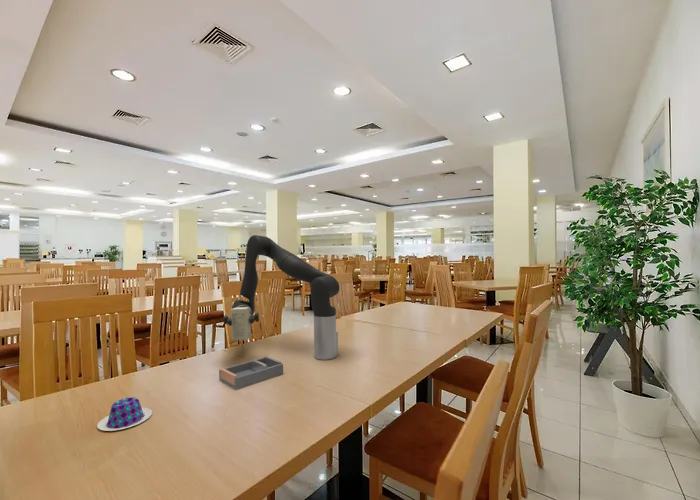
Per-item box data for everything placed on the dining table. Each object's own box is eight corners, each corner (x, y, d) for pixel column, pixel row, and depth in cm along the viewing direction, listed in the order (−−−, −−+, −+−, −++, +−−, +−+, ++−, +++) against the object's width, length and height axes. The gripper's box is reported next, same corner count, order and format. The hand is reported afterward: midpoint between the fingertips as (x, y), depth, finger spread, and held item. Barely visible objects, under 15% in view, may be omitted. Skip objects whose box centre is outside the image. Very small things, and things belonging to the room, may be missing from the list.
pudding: (134, 407, 95) (134, 388, 95) (162, 415, 90) (161, 396, 90) (87, 427, 84) (86, 407, 84) (114, 438, 79) (114, 416, 79)
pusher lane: (265, 366, 127) (264, 355, 127) (283, 373, 118) (283, 362, 118) (219, 379, 114) (219, 368, 114) (236, 389, 105) (235, 377, 105)
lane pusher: (253, 367, 122) (253, 358, 122) (266, 373, 115) (266, 364, 115) (250, 368, 121) (250, 359, 121) (263, 374, 114) (263, 365, 114)
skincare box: (251, 337, 131) (250, 306, 131) (247, 340, 127) (246, 308, 127) (236, 337, 132) (235, 306, 132) (231, 340, 127) (230, 308, 127)
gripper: (224, 307, 141) (220, 313, 125) (259, 304, 145) (259, 311, 129) (225, 324, 141) (221, 333, 125) (259, 321, 145) (260, 330, 129)
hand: (240, 322), depth 127 cm, fingers closed on skincare box, 7 cm apart
